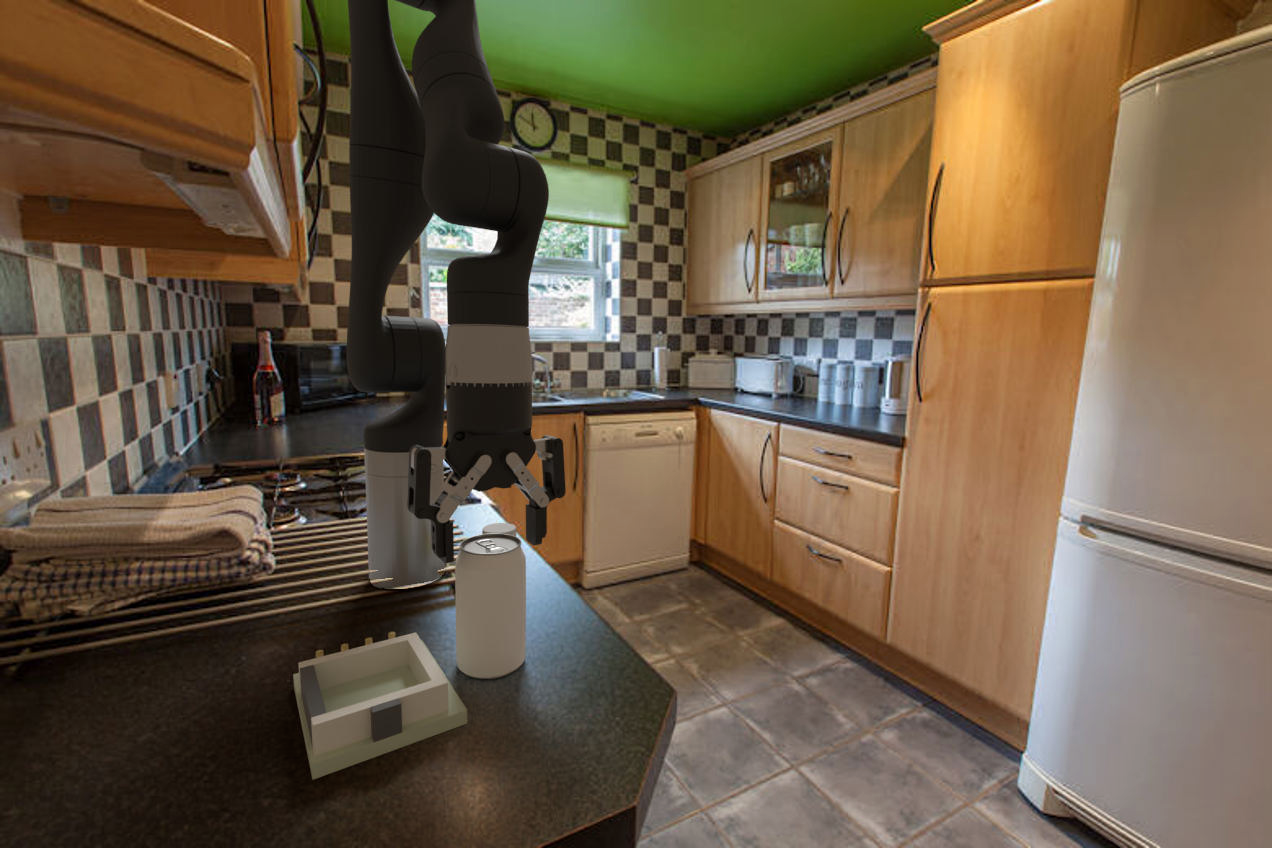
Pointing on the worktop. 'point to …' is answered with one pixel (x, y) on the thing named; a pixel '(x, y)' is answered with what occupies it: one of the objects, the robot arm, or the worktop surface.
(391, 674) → the socket board
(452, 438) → the robot arm
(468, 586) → the can
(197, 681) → the worktop surface
